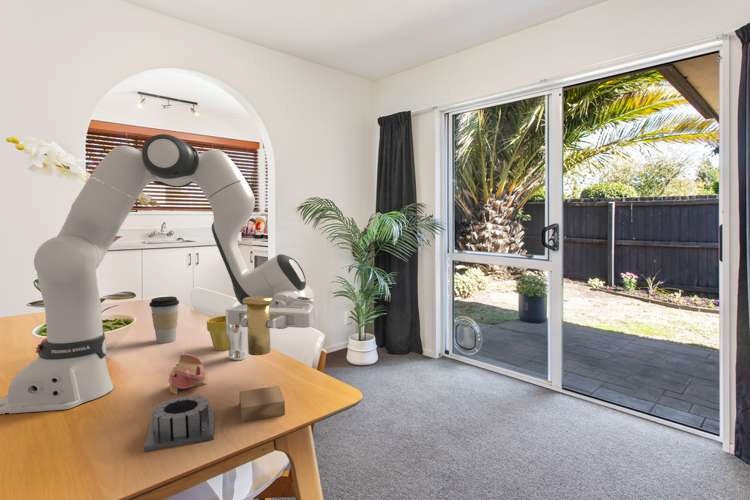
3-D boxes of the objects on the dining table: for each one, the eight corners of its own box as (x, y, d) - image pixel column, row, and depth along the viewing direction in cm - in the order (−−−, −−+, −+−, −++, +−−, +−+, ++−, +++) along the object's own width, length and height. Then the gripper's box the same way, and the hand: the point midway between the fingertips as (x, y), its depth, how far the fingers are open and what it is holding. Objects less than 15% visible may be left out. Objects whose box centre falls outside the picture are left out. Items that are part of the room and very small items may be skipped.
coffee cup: (172, 344, 143) (170, 301, 142) (145, 344, 143) (143, 301, 142) (185, 336, 153) (183, 296, 151) (159, 336, 153) (157, 296, 152)
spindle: (245, 358, 89) (243, 302, 88) (243, 349, 95) (241, 296, 94) (275, 354, 92) (274, 300, 91) (272, 346, 98) (271, 295, 97)
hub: (143, 451, 78) (142, 425, 77) (153, 422, 89) (151, 399, 88) (213, 439, 82) (212, 414, 81) (214, 412, 93) (213, 390, 93)
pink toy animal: (155, 395, 104) (166, 359, 110) (194, 404, 109) (202, 370, 115) (172, 382, 99) (182, 346, 105) (212, 393, 104) (219, 357, 111)
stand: (241, 421, 89) (241, 407, 89) (239, 404, 97) (239, 391, 97) (284, 414, 92) (284, 401, 92) (279, 398, 100) (278, 385, 100)
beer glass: (243, 361, 126) (241, 312, 125) (222, 360, 127) (220, 311, 126) (254, 354, 133) (253, 307, 131) (234, 353, 134) (232, 306, 133)
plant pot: (200, 350, 137) (199, 320, 136) (223, 341, 146) (222, 313, 146) (225, 354, 133) (224, 323, 132) (247, 345, 142) (246, 316, 142)
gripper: (243, 296, 107) (212, 308, 94) (320, 299, 104) (300, 311, 90) (243, 320, 108) (213, 335, 94) (320, 324, 104) (300, 340, 91)
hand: (256, 324), depth 92 cm, fingers closed on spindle, 5 cm apart
